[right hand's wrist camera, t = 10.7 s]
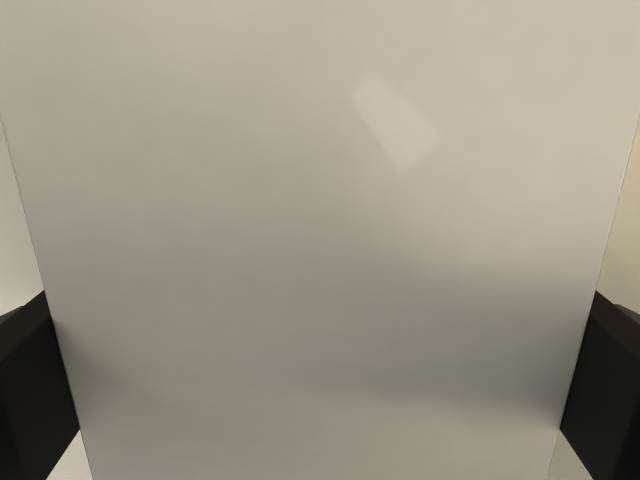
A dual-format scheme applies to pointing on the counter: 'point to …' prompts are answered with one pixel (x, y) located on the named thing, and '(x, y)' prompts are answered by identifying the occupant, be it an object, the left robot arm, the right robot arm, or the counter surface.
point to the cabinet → (319, 225)
